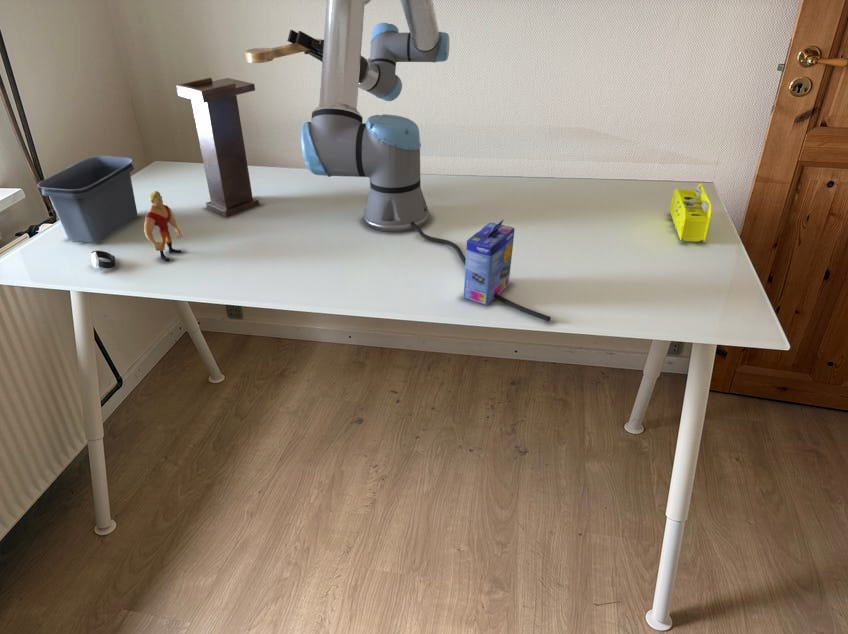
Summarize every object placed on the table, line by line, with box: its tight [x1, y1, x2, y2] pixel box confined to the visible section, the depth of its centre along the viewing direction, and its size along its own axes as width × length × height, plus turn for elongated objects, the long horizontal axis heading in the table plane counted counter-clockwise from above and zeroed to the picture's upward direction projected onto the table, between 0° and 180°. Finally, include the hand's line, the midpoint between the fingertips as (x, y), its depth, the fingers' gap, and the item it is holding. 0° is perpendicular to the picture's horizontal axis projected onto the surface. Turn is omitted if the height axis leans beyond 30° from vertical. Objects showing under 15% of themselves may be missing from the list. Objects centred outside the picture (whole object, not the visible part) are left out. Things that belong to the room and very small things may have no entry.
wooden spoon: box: [244, 38, 323, 64], centre depth 167 cm, size 22×6×2 cm, turn 135°
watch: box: [90, 250, 116, 270], centre depth 147 cm, size 8×5×4 cm, turn 40°
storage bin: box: [37, 155, 139, 244], centre depth 161 cm, size 21×16×14 cm
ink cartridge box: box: [463, 219, 516, 306], centre depth 127 cm, size 10×6×14 cm, turn 146°
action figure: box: [143, 190, 184, 262], centre depth 146 cm, size 10×4×15 cm, turn 158°
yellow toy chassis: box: [669, 182, 713, 243], centre depth 148 cm, size 16×6×8 cm, turn 168°
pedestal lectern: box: [175, 76, 260, 218], centre depth 165 cm, size 14×11×30 cm
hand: (294, 36), depth 167 cm, fingers closed on wooden spoon, 3 cm apart
